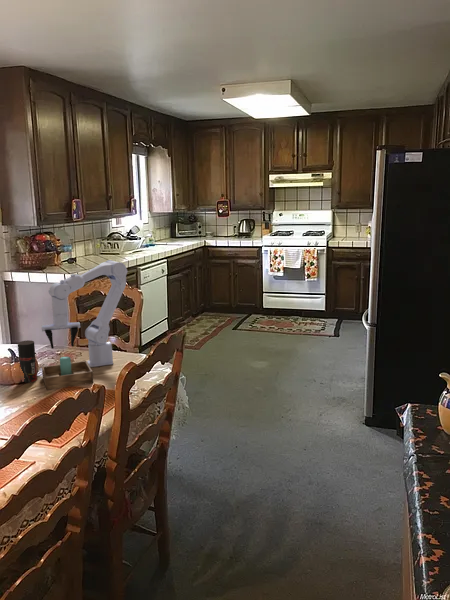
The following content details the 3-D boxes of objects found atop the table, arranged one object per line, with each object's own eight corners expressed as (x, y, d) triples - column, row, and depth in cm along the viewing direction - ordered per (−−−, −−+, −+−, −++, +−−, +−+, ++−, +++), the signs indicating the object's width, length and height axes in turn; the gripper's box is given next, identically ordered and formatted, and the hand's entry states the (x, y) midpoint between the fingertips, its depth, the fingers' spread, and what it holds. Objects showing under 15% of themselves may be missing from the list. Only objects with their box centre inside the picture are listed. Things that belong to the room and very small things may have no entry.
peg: (70, 375, 207) (69, 356, 205) (72, 378, 203) (71, 359, 202) (60, 377, 205) (58, 357, 203) (62, 380, 202) (60, 360, 200)
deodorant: (32, 383, 199) (29, 345, 196) (17, 382, 200) (14, 344, 197) (40, 377, 205) (37, 340, 202) (26, 376, 206) (22, 340, 203)
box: (87, 371, 211) (86, 360, 210) (93, 382, 198) (92, 371, 198) (42, 377, 204) (41, 367, 203) (46, 390, 192) (45, 378, 191)
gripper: (41, 317, 200) (44, 351, 203) (80, 314, 206) (82, 347, 208) (40, 313, 206) (42, 346, 209) (78, 310, 212) (79, 342, 215)
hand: (62, 346), depth 209 cm, fingers open, 7 cm apart
